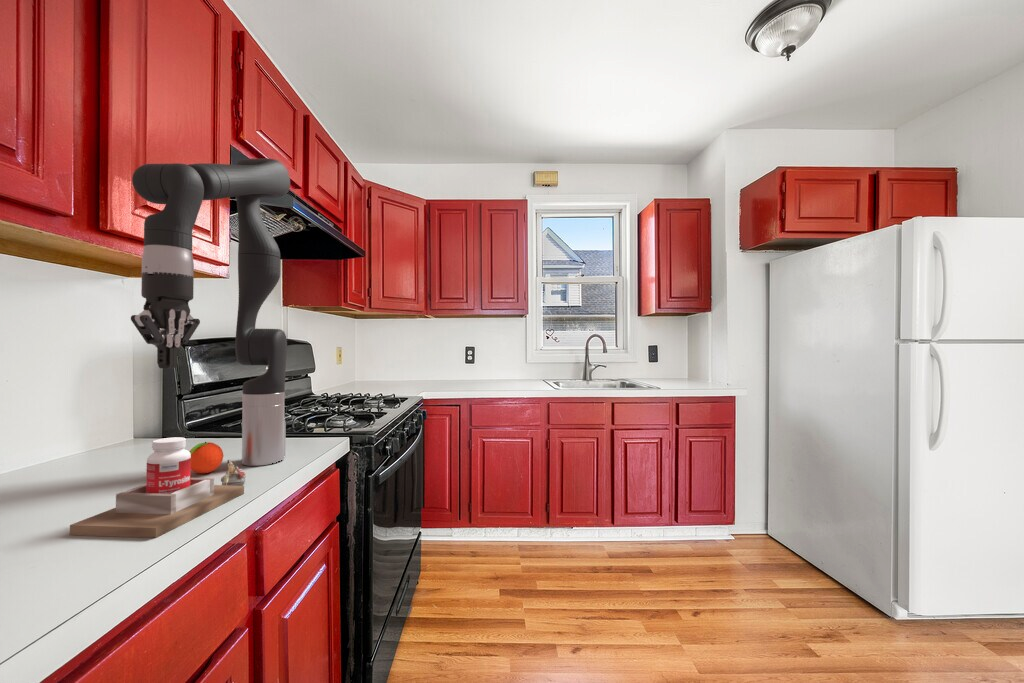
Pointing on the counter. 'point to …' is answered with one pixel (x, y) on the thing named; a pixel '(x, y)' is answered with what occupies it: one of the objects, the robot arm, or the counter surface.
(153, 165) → the robot arm
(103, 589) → the counter surface
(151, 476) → the pill bottle
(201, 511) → the bottle holder
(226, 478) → the figurine
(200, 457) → the clementine
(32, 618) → the counter surface
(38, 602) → the counter surface
